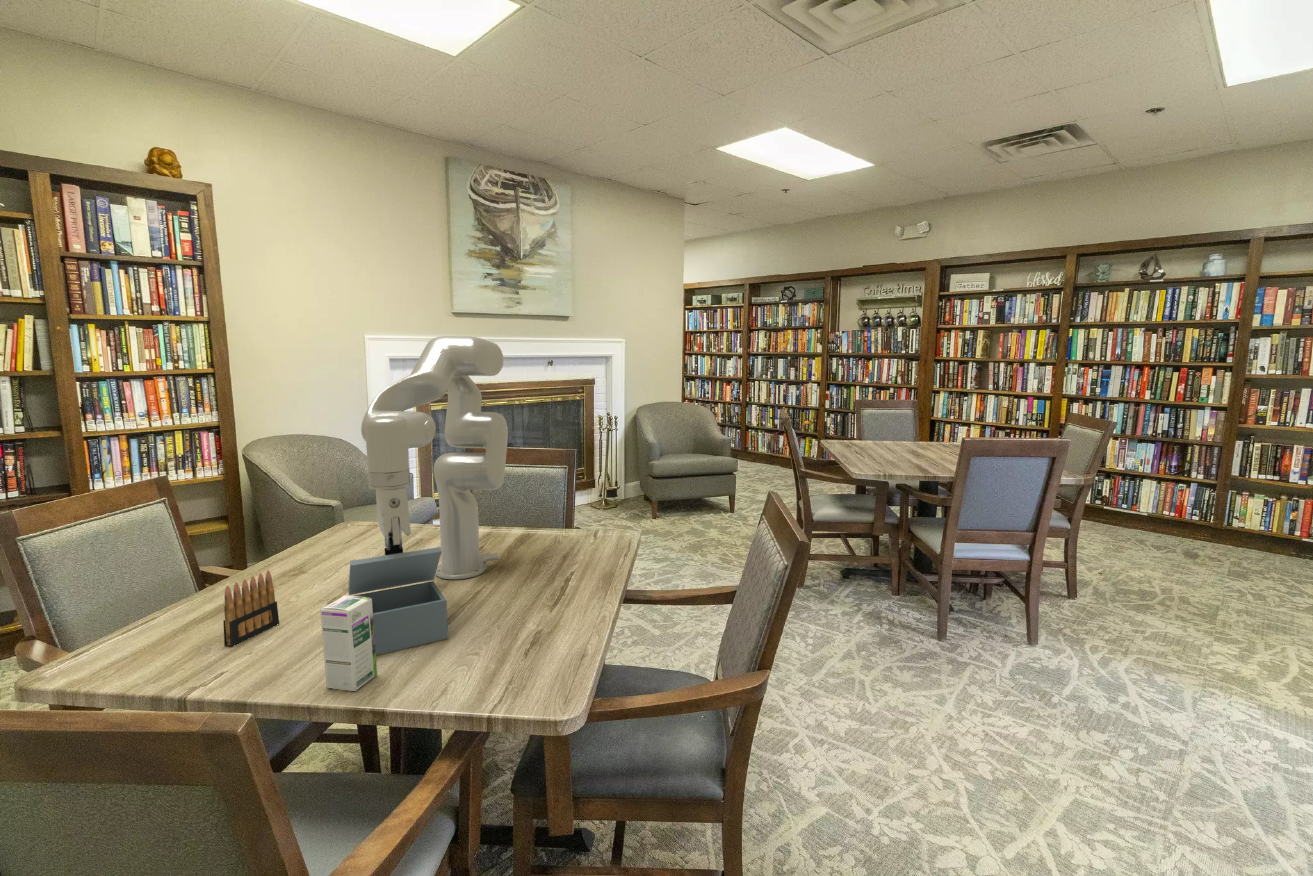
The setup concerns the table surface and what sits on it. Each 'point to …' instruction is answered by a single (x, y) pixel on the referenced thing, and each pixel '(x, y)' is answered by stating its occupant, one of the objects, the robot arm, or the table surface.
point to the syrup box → (348, 642)
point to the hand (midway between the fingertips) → (394, 566)
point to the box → (408, 616)
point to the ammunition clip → (249, 610)
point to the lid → (393, 570)
